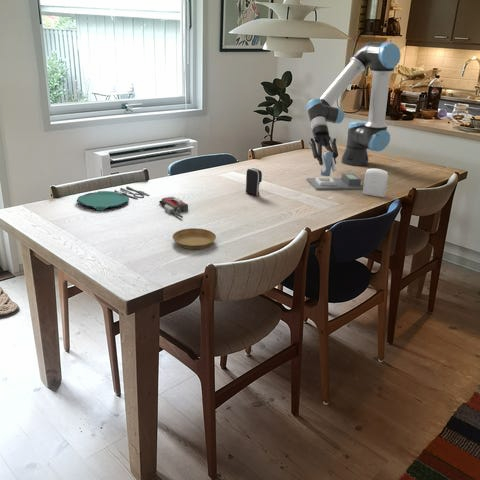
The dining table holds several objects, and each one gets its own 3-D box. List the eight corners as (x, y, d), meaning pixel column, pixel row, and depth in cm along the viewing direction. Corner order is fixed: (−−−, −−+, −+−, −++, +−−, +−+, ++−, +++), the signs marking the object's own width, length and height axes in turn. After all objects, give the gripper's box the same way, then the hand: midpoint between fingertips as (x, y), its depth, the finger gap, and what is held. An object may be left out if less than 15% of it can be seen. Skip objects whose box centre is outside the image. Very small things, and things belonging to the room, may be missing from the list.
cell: (328, 173, 240) (331, 150, 236) (331, 176, 236) (334, 152, 232) (319, 173, 239) (322, 149, 235) (322, 176, 235) (325, 152, 231)
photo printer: (361, 194, 229) (365, 168, 224) (363, 191, 233) (367, 166, 228) (383, 198, 225) (388, 171, 220) (385, 195, 228) (390, 169, 224)
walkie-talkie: (154, 205, 202) (179, 221, 188) (154, 195, 201) (179, 210, 186) (173, 202, 207) (199, 217, 193) (173, 192, 206) (199, 206, 191)
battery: (261, 195, 220) (263, 170, 216) (255, 196, 218) (257, 171, 213) (251, 191, 225) (252, 166, 221) (245, 192, 223) (246, 167, 218)
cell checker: (351, 179, 250) (353, 172, 248) (364, 189, 236) (365, 181, 234) (306, 180, 246) (307, 172, 244) (316, 190, 231) (317, 181, 230)
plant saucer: (186, 256, 160) (186, 248, 159) (164, 240, 171) (164, 233, 170) (224, 246, 168) (224, 239, 167) (201, 231, 179) (201, 225, 178)
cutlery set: (67, 202, 200) (67, 197, 199) (125, 188, 222) (125, 183, 221) (98, 215, 189) (98, 210, 188) (156, 199, 211) (156, 194, 210)
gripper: (333, 132, 247) (343, 174, 239) (300, 132, 242) (309, 174, 234) (339, 124, 240) (349, 166, 232) (305, 123, 236) (315, 166, 228)
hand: (329, 170), depth 233 cm, fingers closed on cell, 4 cm apart
